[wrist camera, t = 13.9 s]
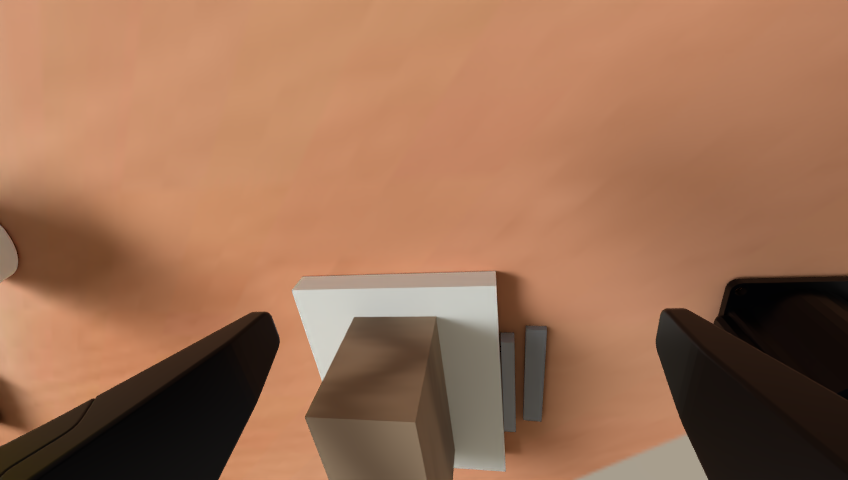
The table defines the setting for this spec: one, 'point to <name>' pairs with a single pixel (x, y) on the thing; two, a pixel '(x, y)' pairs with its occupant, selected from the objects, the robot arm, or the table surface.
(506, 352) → the long grey stick
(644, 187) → the table surface
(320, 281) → the board
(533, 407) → the pencil mark
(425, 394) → the block
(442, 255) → the table surface
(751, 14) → the table surface
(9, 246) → the cup
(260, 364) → the robot arm
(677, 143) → the table surface
